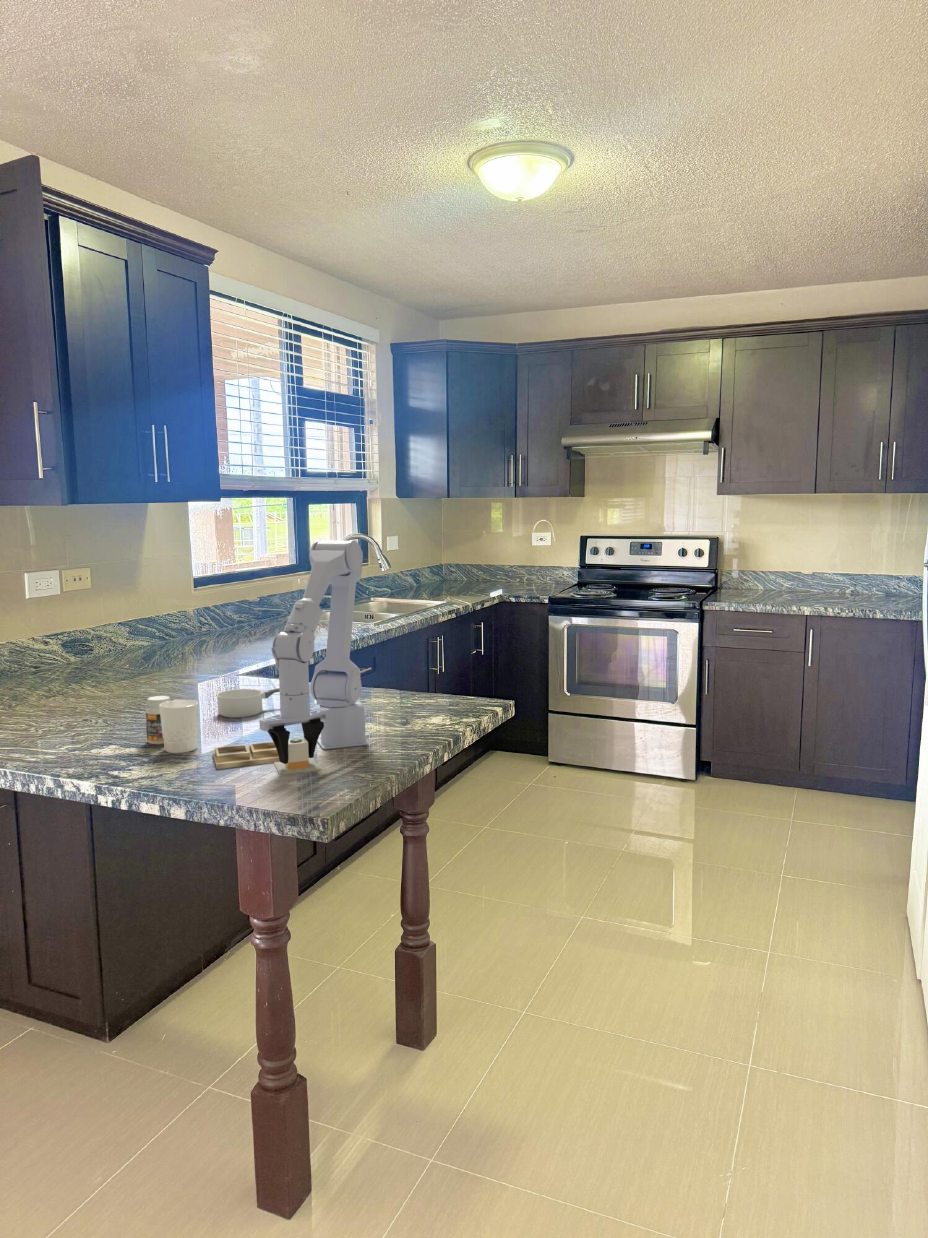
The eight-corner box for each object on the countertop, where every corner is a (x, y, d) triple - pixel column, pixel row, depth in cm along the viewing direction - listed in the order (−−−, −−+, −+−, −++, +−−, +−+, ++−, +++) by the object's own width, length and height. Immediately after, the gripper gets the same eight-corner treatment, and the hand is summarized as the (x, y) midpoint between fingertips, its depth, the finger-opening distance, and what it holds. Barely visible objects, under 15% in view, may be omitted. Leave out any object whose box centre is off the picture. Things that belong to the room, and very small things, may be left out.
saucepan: (302, 711, 215) (301, 689, 214) (226, 723, 204) (225, 700, 203) (284, 703, 224) (283, 682, 224) (210, 714, 213) (209, 692, 212)
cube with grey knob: (305, 761, 170) (304, 736, 169) (308, 767, 166) (308, 741, 165) (285, 764, 168) (284, 738, 167) (288, 769, 164) (287, 743, 164)
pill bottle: (146, 746, 184) (143, 701, 182) (148, 739, 189) (145, 696, 188) (173, 743, 185) (171, 699, 184) (174, 737, 191) (172, 694, 189)
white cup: (204, 743, 185) (202, 699, 184) (194, 754, 177) (192, 707, 176) (168, 744, 185) (166, 699, 184) (156, 754, 177) (154, 708, 176)
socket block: (280, 748, 181) (280, 738, 180) (288, 761, 171) (287, 750, 171) (212, 755, 176) (212, 745, 175) (216, 769, 166) (216, 758, 166)
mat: (313, 759, 172) (313, 758, 172) (321, 771, 165) (321, 769, 165) (273, 764, 169) (273, 762, 169) (279, 775, 162) (279, 773, 162)
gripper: (316, 684, 173) (318, 748, 174) (251, 694, 163) (253, 762, 165) (334, 689, 167) (336, 755, 169) (268, 700, 158) (271, 770, 160)
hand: (296, 759), depth 167 cm, fingers closed on cube with grey knob, 5 cm apart
